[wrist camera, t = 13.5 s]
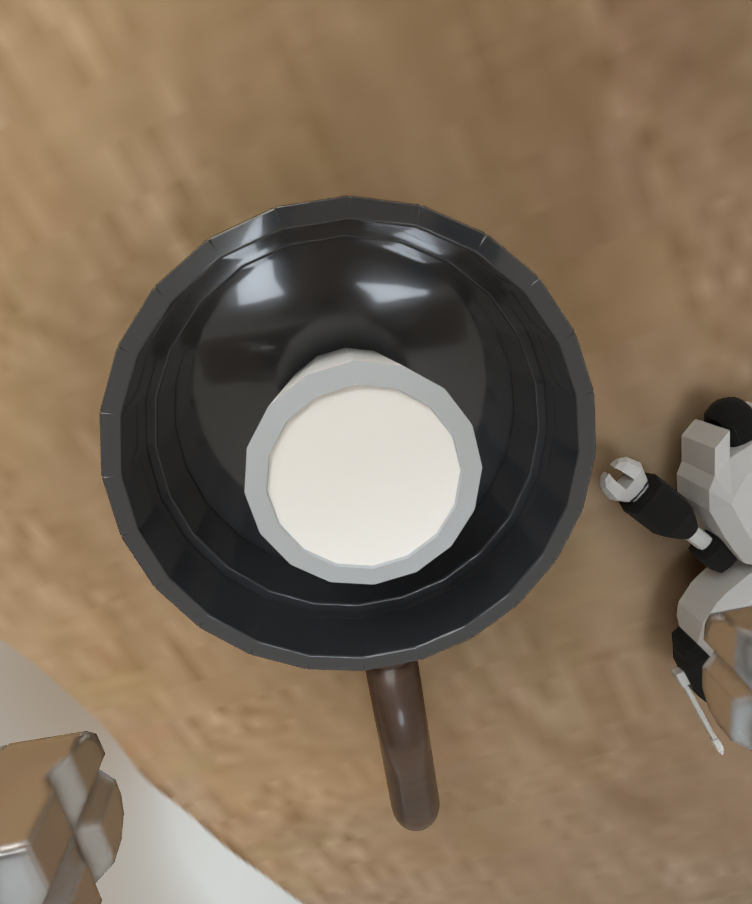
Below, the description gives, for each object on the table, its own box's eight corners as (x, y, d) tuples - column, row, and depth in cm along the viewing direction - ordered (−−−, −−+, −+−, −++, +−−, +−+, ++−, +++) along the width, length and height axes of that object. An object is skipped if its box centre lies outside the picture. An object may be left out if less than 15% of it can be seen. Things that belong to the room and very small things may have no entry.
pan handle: (357, 618, 23) (360, 650, 21) (408, 608, 23) (416, 640, 21) (392, 804, 26) (398, 847, 24) (437, 795, 26) (446, 837, 24)
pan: (103, 249, 21) (25, 245, 16) (517, 184, 22) (586, 157, 16) (206, 610, 26) (175, 707, 20) (542, 548, 27) (602, 626, 21)
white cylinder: (252, 339, 22) (224, 374, 16) (433, 323, 23) (480, 349, 16) (276, 507, 24) (260, 600, 18) (441, 489, 25) (485, 573, 18)
